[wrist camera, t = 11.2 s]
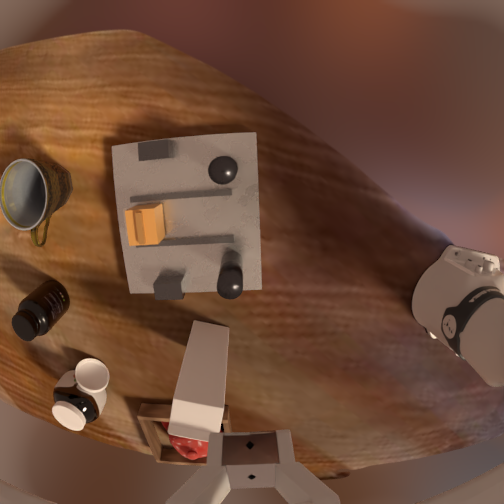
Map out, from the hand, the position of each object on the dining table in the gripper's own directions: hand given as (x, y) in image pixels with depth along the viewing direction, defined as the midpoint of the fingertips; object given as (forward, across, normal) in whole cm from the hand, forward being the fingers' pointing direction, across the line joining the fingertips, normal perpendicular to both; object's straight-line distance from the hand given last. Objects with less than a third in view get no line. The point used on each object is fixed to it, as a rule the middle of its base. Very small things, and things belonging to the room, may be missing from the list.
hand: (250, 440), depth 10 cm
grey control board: (+37, +8, -2) cm, 38 cm away
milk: (+37, +7, +19) cm, 42 cm away
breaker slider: (+34, +13, -2) cm, 36 cm away
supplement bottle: (+37, +35, +11) cm, 52 cm away
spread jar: (+37, +33, +29) cm, 58 cm away
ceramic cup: (+37, +30, -7) cm, 48 cm away
